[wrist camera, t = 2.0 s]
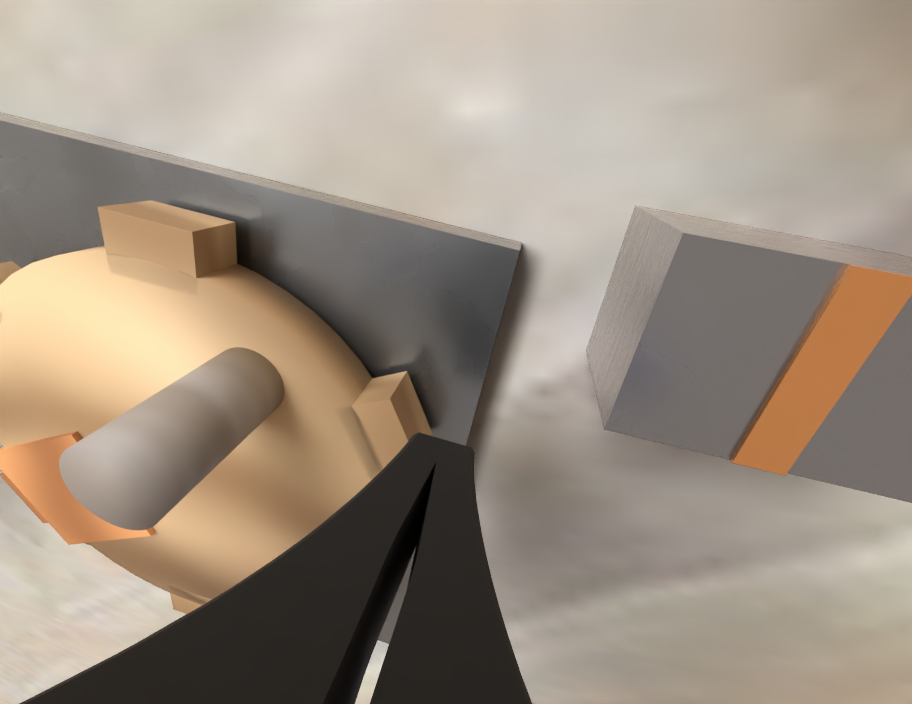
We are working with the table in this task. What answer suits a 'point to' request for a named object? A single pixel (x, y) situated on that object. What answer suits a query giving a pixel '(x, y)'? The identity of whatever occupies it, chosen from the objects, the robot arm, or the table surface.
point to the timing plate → (287, 258)
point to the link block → (760, 350)
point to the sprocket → (183, 403)
